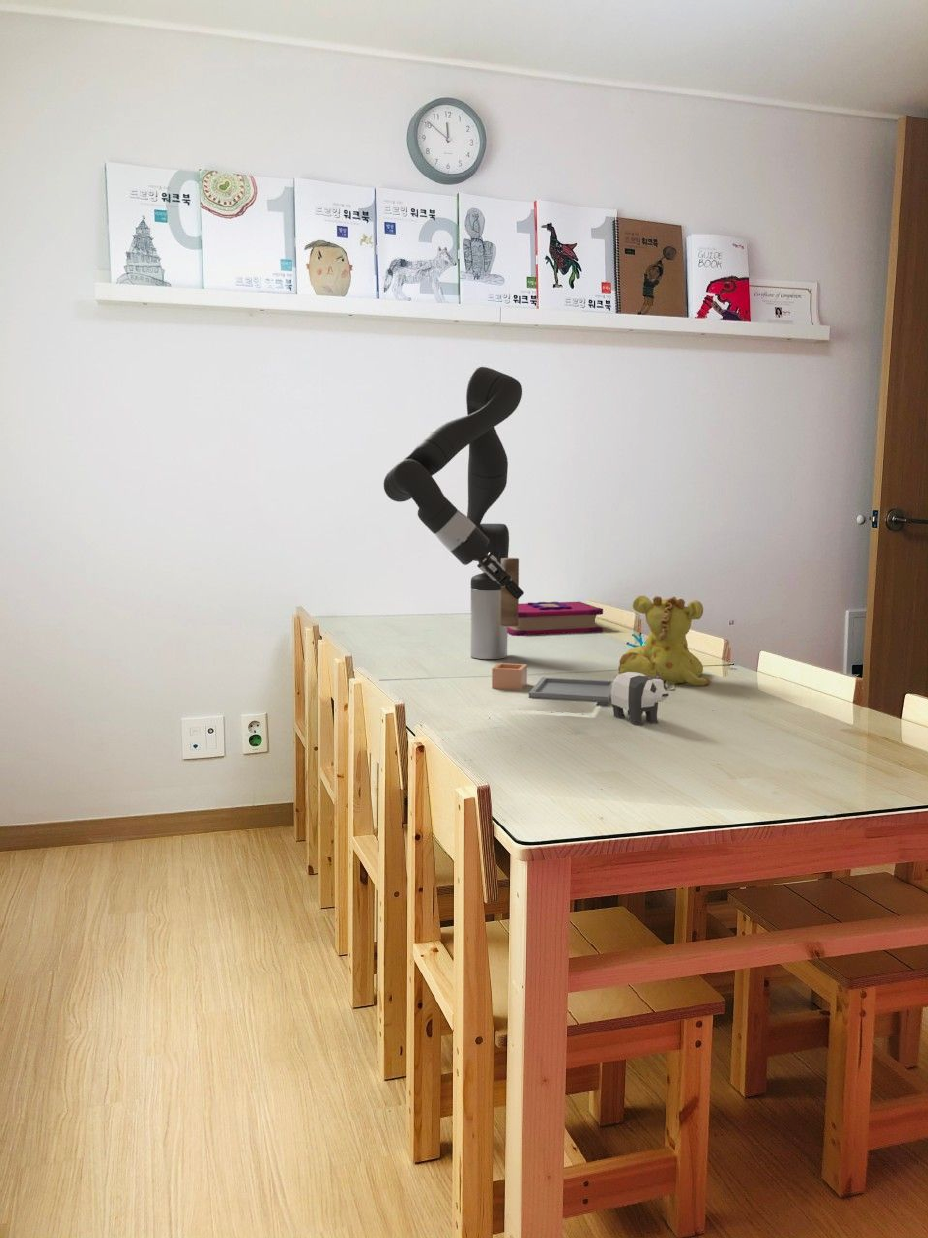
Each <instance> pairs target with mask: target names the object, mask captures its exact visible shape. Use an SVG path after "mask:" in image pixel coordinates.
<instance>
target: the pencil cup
mask: <svg viewBox="0 0 928 1238" xmlns="http://www.w3.org/2000/svg"><path fill="white" fill-rule="evenodd" d="M491 674H492V677H491V679H492V681H491V686H492V687H491V688H492V689H496V690H513V691H514V690H515V691H516V690H517V691H522V690H523V688H525V687H526V685H527V682H528V677H527V676H528V664H526V663H525V664H524V663H523V664H521V663H502V662H500V663H499V662H498V663H497V664H496V665H494V667H492V671H491Z"/></svg>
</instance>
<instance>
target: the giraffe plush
mask: <svg viewBox="0 0 928 1238" xmlns="http://www.w3.org/2000/svg"><path fill="white" fill-rule="evenodd" d="M685 604H686V602H685V599H683V598H678V599H677V597H676V596H672V597H670V598H665V599H663V598H662V597H661V596H657V595H655V596H654V597H653V598H652V601H651V599H650V598H649V597H647V596H645V595H642V594H641V595H638V596H637V597H635V598H634V600H633V602H632V609H633V610H634V611H635V612H636V613H639V614H643V615H644V616H645V622H646V624H647V625H648V628H649V631H651V632H650V633H649V634H648V636H647V639H646V640H647V641H646V640H645V641H646V643H645V642H644V643H645V644H644V645H643V646H640V645H638V646H639V647H635V648H634V647H631V648H630V649H631V650H630V649H629V650H627V652H625V653H624V654H622V655H621V657H620V659H619V664H618V667H617V669H618V675H619V674H622V673H626V672H637V673H641V674H643V675H645V676H647V677H648V676H651V677H652V679H654V677H655V676H656V675H660V677H659V679H661V680H663V681H664V683H665V685H666V687H667V691H674V690H675V689H676V685H677V684H683V683H685V682H686V683H688V684H691V685H692V686H693V685H694V686H698V687H699V686H702V687H703V686H704V687H705V686H708V685H710V684H711V679H710V678H708V677H700V676H701V675H703V672H704V671H703V670H704V667H703V664H702V663H703V662H701V661H700V660H699V658H698V657H697V656H696V655H694V653H692V652H690V650H689V646H688V641H687V638H686V637H687V634H688V633H689V632H690V629H691V627H692V621H693V620H700V619H701V617H702V616H703V614H704V607H703V604H702V603H701V601H699V600H695V599H694V600H692V601H690V602H689V603H688V604H687V606H685Z"/></svg>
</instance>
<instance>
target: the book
mask: <svg viewBox="0 0 928 1238" xmlns="http://www.w3.org/2000/svg"><path fill="white" fill-rule="evenodd" d="M603 614H604V608H601V607H597V606H594V605H591V604H588V603H586V602H585V603H584V602H582V601H551V602H550V601H549V602H548V601H539V602H527V603H519V609H518V626H507V635H510V636H514V637H516V636H517V637H520V636H521V637H522V636H523V637H524V636H539V635H541V636H542V635H560V634H564V635H565V634H586V633H603V632H604V631H603V630H604V627H602V626H599V625H597V624H596V617H597V616H598V615H599V616H601V615H603Z"/></svg>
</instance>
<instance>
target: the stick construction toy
mask: <svg viewBox="0 0 928 1238" xmlns="http://www.w3.org/2000/svg"><path fill="white" fill-rule="evenodd" d="M631 636H632V637H633V638H635V640H636V641H637V642H638V643H639V645H636V644H632V643H630V642H629V641H627V642H626V646H628V647H631V648H630V649H629V650H631V649H632V648H635V647H639V646H643V645H644V644H645V643H646V641H647V639H646V640H645V642H643V638H642V632H639V633H638V636H639V637H638V636H637V635H636V634H635V633H632V634H631Z"/></svg>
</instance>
